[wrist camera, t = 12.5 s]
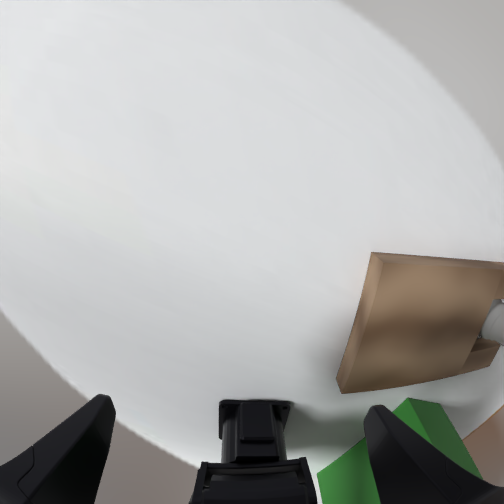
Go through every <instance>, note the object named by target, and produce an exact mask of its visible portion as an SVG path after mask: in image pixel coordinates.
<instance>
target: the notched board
mask: <svg viewBox="0 0 504 504" xmlns="http://www.w3.org/2000/svg"><path fill="white" fill-rule="evenodd" d="M495 299H504V263H502V262H490V261H479V260H467V259H454V258H442V257H429V256H417V255H404V254H391V253H377V252H371V257H370V261H369V266H368V270H367V274H366V279H365V283H364V287H363V291H362V295H361V298H360V302H359V306H358V310H357V313H356V317H355V320H354V324H353V327H352V331H351V334H350V337H349V341H348V344H347V347H346V350H345V353H344V356H343V359H342V362H341V365H340V368H339V371H338V374H337V377H336V380H337V383H338V385H339V388H340V391H341V394H346V393H357V392H366V391H374V390H382V389H389V388H395V387H402V386H408V385H413V384H419V383H424V382H429V381H434V380H438V379H443V378H447V377H451V376H456V375H460V374H463V373H467V372H471V371H475V370H478V369H482V368H485V367H488V366H490V364H491V362H492V360H493V359H494V357H495V355H496V353H497V351H498V349H499V347H500V344H499V343H498V342H497V341H495V340H493V341H491V340H490V339H487V340H486V339H484V338H479V339H477V337H478V335H479V333H480V330H481V328H482V326H483V323H484V321H485V319H486V316H487V314H488V312H489V309H490V307H491V304H492V301H493V300H495Z"/></svg>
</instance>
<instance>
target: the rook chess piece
mask: <svg viewBox="0 0 504 504" xmlns="http://www.w3.org/2000/svg"><path fill="white" fill-rule="evenodd" d="M479 335H481V337H482V338H484V339H486V340H487V339H490V340H491V341H493V340H495V341H497V342H498V343H500V344H501V345H503V346H504V303H502V301H501V300H500V299H495V300H493V301H492V304H491V307H490V309H489V312H488V314H487V316H486V319H485V321H484V323H483V326H482V328H481V330H480V333H479Z"/></svg>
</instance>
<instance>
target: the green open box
mask: <svg viewBox="0 0 504 504" xmlns="http://www.w3.org/2000/svg"><path fill="white" fill-rule="evenodd" d="M392 413H393V414H395V415H396V416H397V417H398V418H400V419H401V420H402V421H403V422H404V423H406V424H407V425H408V426H409V427H411V428H412V429H413V430H414V431H416V432H417V433H418V434H419V435H421V436H422V437H423V438H424V439H426V440H427V441H428V442H429V443H431V444H432V445H433V446H435V447H436V448H437V449H438V450H440V451H441V452H442V453H443V454H445V455H446V457H449V458H450V459H451V460H453V461H454V462H455V463H457V464H458V465H460V466H461V467H462V468H464V469H466V470H467V471H469V472H470V473H472V474H474V475H476V476H477V477H479V478H481V479H483V478H482V476H481V474H480V473H479V471H478V469H477V467H476V465H475V463H474V461H473V460H472V458H471V456H470V454H469V452H468V451H467V449H466V447H465V445H464V444H463V442H462V440H461V438H460V437H459V435H458V433H457V432H456V430H455V428H454V426H453V425H452V423H451V421H450V420H449V418H448V417H447V415H446V413H445V412H444V410H443V408H442V407H441V405H440V404H438V403H432V402H427V401H422V400H417V399H412V398H407V399H406V400H405V401H404V402H403V403H402V404H401V405H400V406H399V407H398V408H397V409H395V410H394V411H393V412H392ZM317 478H318V482H319V487H320V492H321V498H322V503H323V504H381V503H380V499H379V495H378V491H377V487H376V483H375V479H374V476H373V472H372V468H371V465H370V461H369V456H368V449H367V443H366V437H365V438H363V439H362V440H361V441H360V442H359V443H357V444H356V445H355V446H354V447H352V448H351V449H350V450H349V451H347V452H346V453H345V454H343V455H342V456H341V457H339V458H338V459H337V460H335V461H334V462H333V463H331V464H330V465H329V466H327V467H326V468H324V469H323V470H321V471H320V472H319V473H317Z"/></svg>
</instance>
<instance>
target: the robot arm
mask: <svg viewBox="0 0 504 504" xmlns="http://www.w3.org/2000/svg"><path fill="white" fill-rule="evenodd" d="M289 411H290V403H289V402H256V401H229V400H222V401H220V402H219V438H220V439H221V440H222V457H221V463H208V462H201V467H200V469H199V470H198V474H197V479H196V483H195V488H194V492H193V494H192V496H191V499H190V501H189V504H317V496H316V491H315V487H314V484H313V480H312V477H311V473H310V470H309V466H308V463H307V459H306V457H301V458H299V459H292V460H287V455H286V448H285V440H284V433H283V432H284V428H285V425H286V421H287V418H288V414H289ZM115 417H116V411H115V408H114V405H113V402H112V400H111V397H110V396H108V395H103V394H98V395H96V396H95V397H94V398H93V399H91V400H90V401H89V402H88V403H86V404H85V405H84V406H83V407H81V408H80V409H79V410H77V411H76V412H75V413H73V414H72V415H71V416H70V417H68V418H67V419H66V420H65V421H64V422H62V423H61V424H59V425H58V426H57V427H55V428H54V429H53V430H52V431H50V432H49V433H48V434H46V435H45V436H44V437H42V438H41V439H40V440H39V441H37V442H36V443H35V444H34V445H33V446H31V447H29V448H28V449H27V450H25V451H24V452H22V453H21V454H20V455H18V456H17V457H15V458H14V459H12V460H10V461H9V462H7V463H5V464H3V465H2V466H0V504H94V502H95V498H96V495H97V490H98V487H99V484H100V480H101V477H102V473H103V469H104V466H105V463H106V460H107V456H108V453H109V448H110V443H111V437H112V432H113V427H114V422H115ZM364 430H365V436H366V443H367V449H368V456H369V461H370V465H371V468H372V472H373V476H374V479H375V483H376V487H377V491H378V495H379V499H380V503H381V504H504V487H499V486H495V485H492V484H490V483H488V482H486V481H484V480H483V479H481V478H479V477H477V476H476V475H474V474H472V473H470V472H469V471H467V470H466V469H464V468H462V467H461V466H460V465H458V464H457V463H455V462H454V461H453V460H451V459H450V458H449V457H446V455H445V454H443V453H442V452H441V451H440V450H438V449H437V448H436V447H435V446H433V445H432V444H431V443H429V442H428V441H427V440H426V439H424V438H423V437H422V436H421V435H419V434H418V433H417V432H416V431H414V430H413V429H412V428H411V427H409V426H408V425H407V424H406V423H404V422H403V421H402V420H401V419H400V418H398V417H397V416H396V415H395V414H393V413H392V412H391V411H390V410H389V409H387V408H386V407H385V406H384V405H375V406H372V407H371V408H370V410H369V412H368V413H367V415H366V417H365V419H364Z"/></svg>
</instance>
